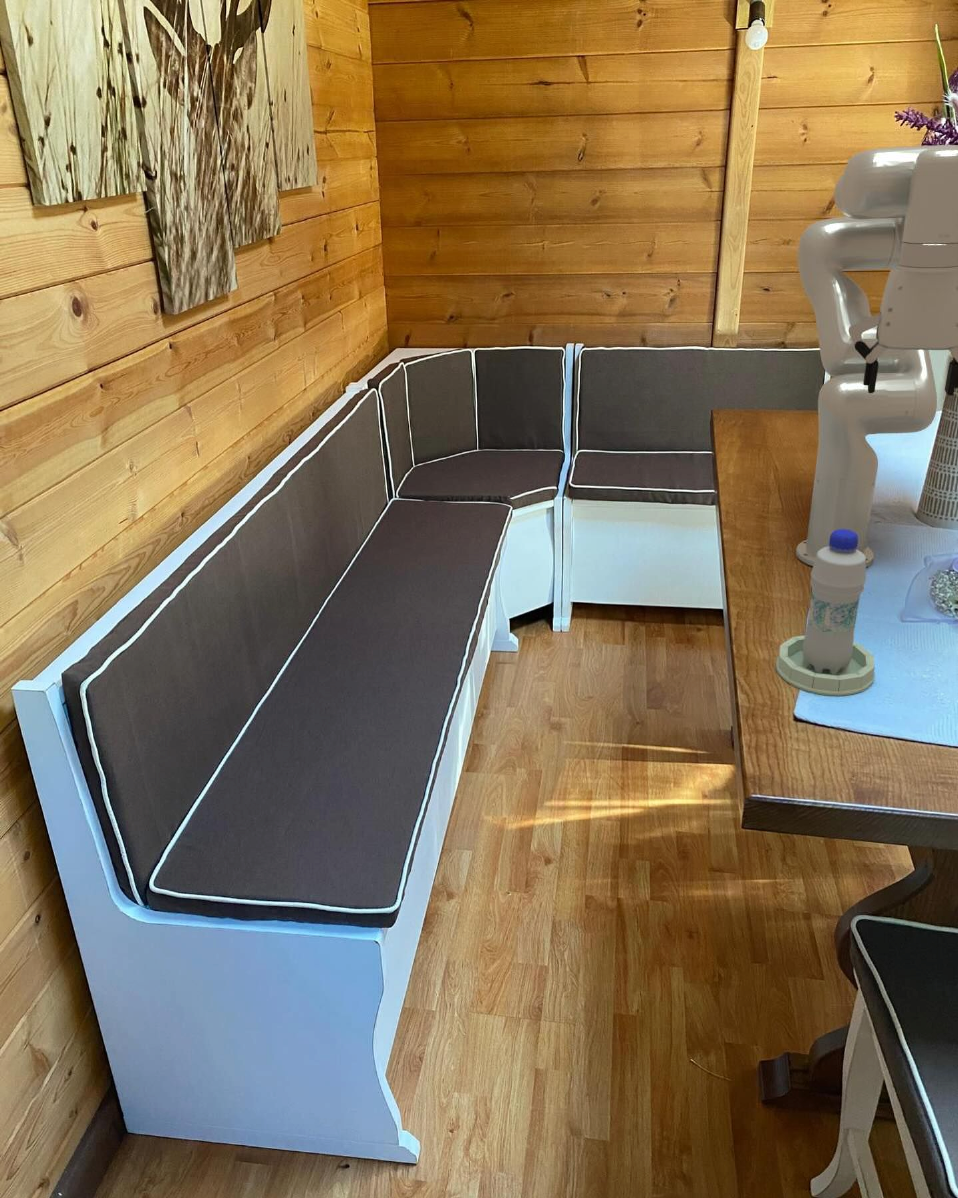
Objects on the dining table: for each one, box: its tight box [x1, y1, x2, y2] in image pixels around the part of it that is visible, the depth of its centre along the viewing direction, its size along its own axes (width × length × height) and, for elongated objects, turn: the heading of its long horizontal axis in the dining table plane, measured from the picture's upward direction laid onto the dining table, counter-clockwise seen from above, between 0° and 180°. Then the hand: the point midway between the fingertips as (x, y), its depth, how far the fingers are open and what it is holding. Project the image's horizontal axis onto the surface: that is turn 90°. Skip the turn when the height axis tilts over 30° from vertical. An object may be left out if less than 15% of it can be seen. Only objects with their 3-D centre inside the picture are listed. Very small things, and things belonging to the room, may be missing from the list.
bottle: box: [802, 529, 867, 675], centre depth 118 cm, size 7×7×20 cm
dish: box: [775, 634, 876, 697], centre depth 122 cm, size 13×13×2 cm
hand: (909, 391), depth 121 cm, fingers open, 9 cm apart
